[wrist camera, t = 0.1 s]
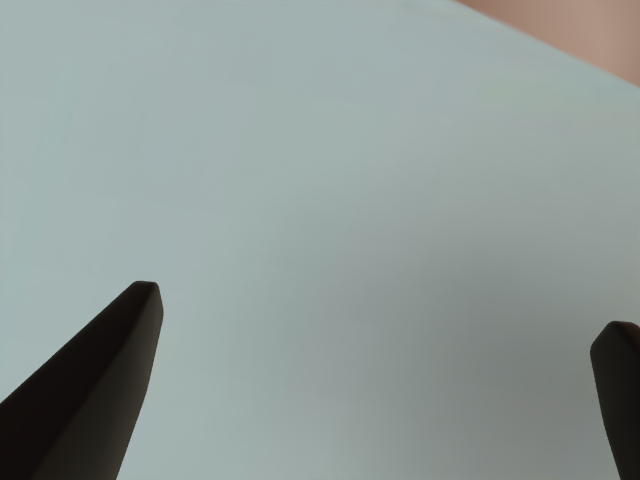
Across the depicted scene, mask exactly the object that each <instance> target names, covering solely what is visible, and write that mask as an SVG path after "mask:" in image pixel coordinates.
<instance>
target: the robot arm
mask: <svg viewBox="0 0 640 480" xmlns="http://www.w3.org/2000/svg"><path fill="white" fill-rule="evenodd" d="M162 321H163V305H162V300H161V295H160V290H159V286H158V284H157V283H155V282H149V281H136V282H134V283H132V284H131V285H130V286H129V287H128V288H127V289H126V290H124V291H123V292H122V293H121V294H120V295H119V296H118V297H117V298H116V299H115V300H113V301H112V302H111V303H110V304H109V305H108V306H107V307H106V308H105V309H104V310H102V311H101V312H100V313H99V314H98V315H97V316H96V317H95V318H94V319H93V320H91V321H90V322H89V323H88V324H87V325H86V326H85V327H84V328H83V329H82V330H81V331H79V332H78V333H77V334H76V335H75V336H74V337H73V338H72V339H71V340H70V341H68V342H67V343H66V344H65V345H64V346H63V347H62V348H61V349H60V350H59V351H57V352H56V353H55V354H54V355H53V356H52V357H51V358H50V359H49V360H48V361H46V362H45V363H44V364H43V365H42V366H41V367H40V368H39V369H38V370H37V371H35V372H34V373H33V374H32V375H31V376H30V377H29V378H28V379H27V380H26V381H24V382H23V383H22V384H21V385H20V386H19V387H18V388H17V389H16V390H15V391H13V392H12V393H11V394H10V395H9V396H8V397H7V398H6V399H5V400H4V401H2V402H1V403H0V480H116V478H117V476H118V473H119V470H120V467H121V464H122V461H123V458H124V456H125V453H126V450H127V447H128V444H129V441H130V438H131V436H132V433H133V430H134V427H135V424H136V421H137V418H138V416H139V413H140V410H141V407H142V404H143V401H144V398H145V395H146V392H147V388H148V384H149V380H150V375H151V371H152V366H153V362H154V357H155V353H156V348H157V344H158V339H159V335H160V330H161V326H162ZM590 357H591V362H592V367H593V372H594V378H595V383H596V388H597V393H598V398H599V403H600V408H601V413H602V418H603V422H604V426H605V430H606V434H607V437H608V440H609V444H610V447H611V450H612V453H613V456H614V460H615V463H616V466H617V469H618V473H619V476H620V479H621V480H640V327H638V326H637V325H636V324H634V323H631V322H622V321H612V322H610V323H608V324H607V325H606V327H605V328H604V329H603V331H602V332H601V333H600V334H599V336H598V337H597V338H596V339H595V341H594V342H593V343H592V345H591V349H590Z"/></svg>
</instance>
